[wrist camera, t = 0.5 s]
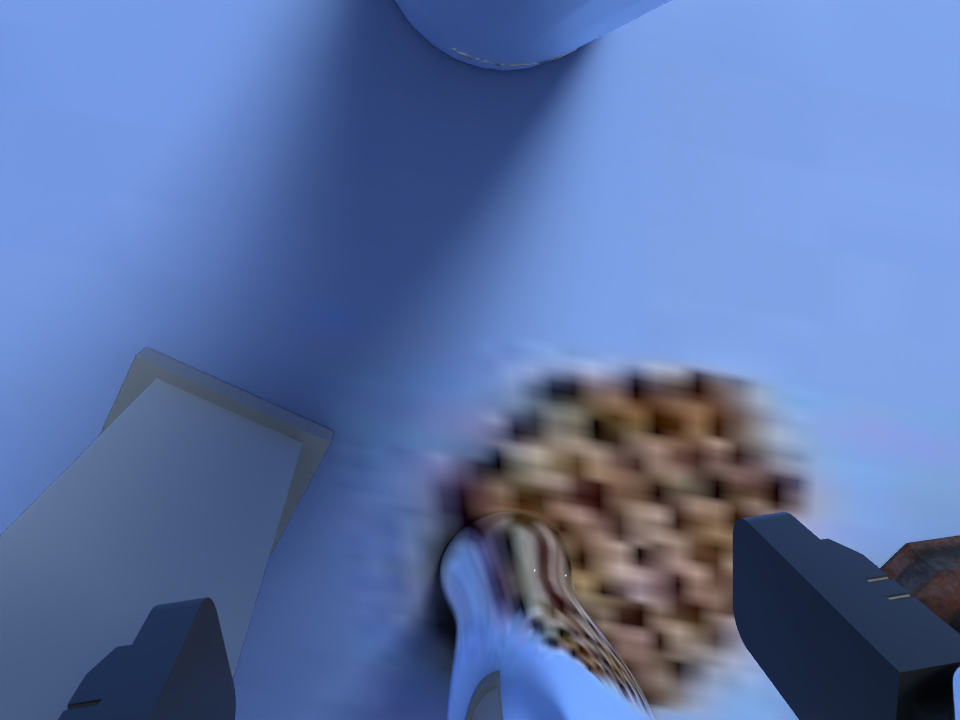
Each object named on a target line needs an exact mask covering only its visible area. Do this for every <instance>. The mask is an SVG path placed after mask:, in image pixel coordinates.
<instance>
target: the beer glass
mask: <svg viewBox="0 0 960 720" xmlns="http://www.w3.org/2000/svg"><path fill="white" fill-rule="evenodd" d="M439 577H440V585H441V590H442V594H443V596H444V599H445V602H446V604H447V606H448V609H449V611H450V613H451V615H452V618H453V621H454V625H455V647H454V657H453V665H452V672H451V680H450V689H449V698H448V708H447V720H657V719H656V717H655V715H654V713H653V711H652V709H651V707H650V705H649V703H648V701H647V699H646V697H645V695H644V693H643V691H642V689H641V687H640V686H639V684H638V682H637V681H636V679H635V678H634V676H633V675H632V673H631V672H630V670H629V668H628V667H627V665H626V664H625V662H624V661H623V659H622V658H621V656H620V655H619V653H618V652H617V651H616V649H615V648H614V647H613V645H612V644H611V642H610V641H609V640H608V638H607V637H606V636H605V634H604V633H603V632H602V630H601V629H600V628H599V626H598V625H597V624H596V622H595V621H594V620H593V619H592V617H591V616H590V615H589V613H588V612H587V610H586V609H585V607H584V606H583V605H582V603H581V602H580V600H579V598H578V596H577V594H576V591H575V588H574V584H573V575H572V567H571V560H570V555H569V552H568V549H567V546H566V544H565V542H564V540H563V539H562V537H561V536H560V534H559V533H558V532H557V531H556V530H555V529H554V528H553V527H552V526H551V525H550V524H548V523H547V522H545V521H544V520H542V519H540V518H538V517H536V516H533V515H530V514H526V513H522V512H499V513H494V514H490V515H487V516H484V517H481V518H479V519H477V520H475V521H473V522H471V523H470V524H468V525H467V526H465V527H464V528H463V529H461V530H460V531H459V532H458V533H457V534H456V535H455V536H454V538H453V539H452V540H451V541H450V543H449V544H448V546H447V548H446V550H445V552H444V554H443V557H442V561H441V565H440V573H439Z"/></svg>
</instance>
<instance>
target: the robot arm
mask: <svg viewBox="0 0 960 720" xmlns="http://www.w3.org/2000/svg"><path fill="white" fill-rule="evenodd" d="M394 1H395V2H396V4H397V5H398V6H399V8H400V9H401V11H402V12H403V14H404V15H405V17H406V18H407V20H408V21H409V22H410V24H411V25H412V26H413V27H414V28H415V29H416V30H417V31H418V32H419V33H420V34H421V35H422V36H424V37H425V38H426V39H427V40H428V41H429V42H430V43H431V44H432V45H434V46H435V47H437V48H438V49H440V50H442V51H443V52H445V53H446V54H448V55H450V56H451V57H453V58H454V59H457V60H460V61H463V62H466V63H468V64H471V65H474V66H477V67H480V68H488V69H497V70H505V71H506V70H515V69H523V68H532V67H534V66H537V65H540V64H543V63H546V62H549V61H553V60H556V59H558V58H560V57H563V56H565V55H567V54H569V53H571V52H573V51H575V50H577V48H578V47H580V46H583V45H585V44H587V43H589V42H591V41H593V40H595V39H597V38H599V37H600V36H602V35H604V34H606V33H608V32H610V31H612V30H614V29H616V28H618V27H620V26H622V25H624V24H626V23H628V22H630V21H632V20H634V19H636V18H637V17H639V16H641V15H643V14H645V13H647V12H649V11H651V10H653V9H655V8H657V7H659V6H661V5H663V4H665V3H667V2H669V1H671V0H394ZM733 611H734V617H735V621H736V625H737V628H738V631H739V634H740V636H741V639H742V641H743V643H744V645H745V646H746V648H747V649H748V651H749V652H750V653H751V655H752V656H753V658H754V659H755V660H756V662H757V663H758V664H759V666H760V667H761V668H762V670H763V671H764V672H765V674H766V675H767V677H768V678H769V679H770V681H771V682H772V683H773V685H774V686H775V687H776V689H777V690H778V691H779V693H780V694H781V696H782V697H783V698H784V700H785V701H786V702H787V704H788V705H789V706H790V708H791V709H792V710H793V712H794V713H795V715H796V716H797V717H798V719H799V720H960V634H959V633H958V632H957V631H955V630H954V629H953V628H952V627H950V626H949V625H948V624H947V623H946V622H944V621H943V620H942V619H941V618H939V617H938V616H937V615H936V614H935V613H933V612H932V611H931V610H930V609H929V608H927V607H926V606H925V605H924V604H922V603H921V602H920V601H919V600H918V599H916V598H915V597H912V598H911V597H910V595H909V592H908V591H907V590H905V589H904V588H903V587H902V586H900V585H899V584H898V583H897V582H896V581H894V580H893V579H891V580H889V578H888V575H887V574H886V573H885V572H883V571H882V570H881V569H880V568H878V567H877V566H876V565H875V564H874V563H872V562H871V561H870V560H869V559H867V558H866V557H865V556H864V555H863V554H861V553H858V552H856V551H854V550H852V549H850V548H848V547H845V546H843V545H841V544H839V543H837V542H834V541H832V540H830V539H822V540H820V539H819V538H818V537H817V536H815V535H814V534H813V533H812V532H811V531H810V530H808V529H807V528H806V527H805V526H804V525H803V524H802V523H800V522H799V521H798V520H797V519H796V518H795V517H793V516H792V515H791V514H789V513H787V512H781V513H775V514H768V515H761V516H755V517H748V518H741V519H738V520H737V521H736V523H735V525H734V529H733ZM67 706H68V708H67V710H65V711H63V712H62V714H61V716H60V717H59V719H58V720H235V709H236V702H235V689H234V683H233V679H232V674H231V670H230V666H229V661H228V657H227V653H226V648H225V644H224V639H223V635H222V631H221V626H220V622H219V618H218V613H217V610H216V607H215V604H214V602H213V601H212V599H211V598H209V597H206V598H199V599H193V600H186V601H179V602H173V603H166V604H159V605H156V606H154V607H153V608H152V610H151V611H150V613H149V615H148V617H147V618H146V620H145V622H144V624H143V625H142V627H141V629H140V631H139V633H138V634H137V636H136V638H135V640H134V642H133V643H132V645H125V646H119V647H116V648H115V649H114V650H113V651H112V652H110V653H109V654H108V655H107V656H106V657H105V658H104V659H103V660H101V661H100V662H99V663H98V664H97V665H96V666H95V667H94V668H93V669H91V670H90V671H89V672H88V673H87V674H86V675H85V677H84V678H83V680H82V682H81V683H80V685H79V686H78V688H77V690H76V691H75V693H74V695H73V696H72V698H71V699H70V701H69V703H68V704H67Z"/></svg>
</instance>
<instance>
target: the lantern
mask: <svg viewBox="0 0 960 720" xmlns="http://www.w3.org/2000/svg"><path fill="white" fill-rule="evenodd" d="M881 570H882V571H883V572H885V573H886V574H887V575H888V578H889V580H891V579H893V580H894V581H896V582H897V583H898V584H899V585H900V586H902V587H903V588H904V589H905V590H907V591H908V592H909V595H910V597H911V598H912V597H915V598H916V599H918V600H919V601H920V602H921V603H922V604H924V605H925V606H926V607H927V608H929V609H930V610H931V611H932V612H933V613H935V614H936V615H937V616H938V617H939V618H941V619H942V620H943V621H944V622H946V623H947V624H948V625H949V626H950V627H952V628H953V629H954V630H955V631H957V632H958V633H959V634H960V536H953V537H946V538H939V539H932V540H925V541H918V542H912V543H906V544H905V545H904V546H903V547H902V548H901V549H900V550H899V551H898V552H897V553H896V554H895V555H894V556H893V557H892V558H891V559H890V560H889V561H888V562H887V563H886V564H885V565H884V566H883V567H882V568H881Z"/></svg>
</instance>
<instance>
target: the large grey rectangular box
mask: <svg viewBox="0 0 960 720" xmlns="http://www.w3.org/2000/svg"><path fill="white" fill-rule="evenodd" d="M332 435H333V431H332V430H330V429H328V428H326V427H324V426H321V425H319V424H317V423H315V422H312V421H310V420H308V419H306V418H304V417H301V416H299V415H297V414H295V413H292V412H290V411H288V410H286V409H284V408H281V407H279V406H277V405H275V404H272V403H270V402H268V401H266V400H264V399H261V398H259V397H257V396H255V395H253V394H250V393H248V392H246V391H244V390H241V389H239V388H237V387H235V386H233V385H230V384H228V383H226V382H224V381H221V380H219V379H217V378H215V377H213V376H210V375H208V374H206V373H204V372H201V371H199V370H197V369H195V368H193V367H190V366H188V365H186V364H184V363H181V362H179V361H177V360H175V359H173V358H170V357H168V356H166V355H164V354H162V353H159V352H157V351H155V350H153V349H150V348H148V347H145V348H144V349H143V350H142V351H141V352H139V353H138V354H137V355H136V356H135V358H134V361H133V363H132V365H131V367H130V369H129V372H128V374H127V376H126V378H125V380H124V383H123V385H122V387H121V389H120V391H119V394H118V396H117V398H116V400H115V402H114V405H113V407H112V409H111V411H110V413H109V415H108V418H107V420H106V422H105V424H104V426H103V429H102V431H101V433H100V435H99V437H98V438H97V439H96V440H95V441H94V442H93V443H92V444H91V445H90V446H89V447H88V448H87V449H86V450H85V451H84V452H83V453H82V454H81V455H80V456H79V457H78V458H77V459H76V460H75V461H74V462H73V463H72V464H71V465H70V466H69V467H68V468H67V469H66V470H65V471H64V472H63V473H62V474H61V475H60V476H59V477H58V478H57V479H56V480H55V481H54V482H53V483H52V484H51V485H50V486H49V487H48V488H47V489H46V490H45V491H44V492H43V493H42V494H41V495H40V496H39V497H38V498H37V499H36V500H35V501H34V502H33V503H32V504H31V505H30V506H29V507H28V508H27V509H26V510H25V511H24V512H23V513H22V514H21V515H20V516H19V517H18V518H17V519H16V520H15V521H14V522H13V523H12V524H11V525H10V526H9V527H8V528H7V529H6V530H5V531H4V532H3V533H2V534H1V535H0V720H58V719H59V717H60V716H61V714H62V712H63V711H65V710H67V708H68V706H67V704H68V703H69V701H70V699H71V698H72V696H73V695H74V693H75V691H76V690H77V688H78V686H79V685H80V683H81V682H82V680H83V678H84V677H85V675H86V674H87V673H88V672H89V671H90V670H91V669H93V668H94V667H95V666H96V665H97V664H98V663H99V662H100V661H101V660H103V659H104V658H105V657H106V656H107V655H108V654H109V653H110V652H112V651H113V650H114V649H115V648H116V647H119V646H125V645H132V643H133V642H134V640H135V638H136V636H137V634H138V633H139V631H140V629H141V627H142V625H143V624H144V622H145V620H146V618H147V617H148V615H149V613H150V611H151V610H152V608H153V607H154V606H156V605H159V604H166V603H173V602H179V601H186V600H193V599H199V598H206V597H209V598H211V599H212V601H213V602H214V604H215V607H216V610H217V613H218V618H219V622H220V626H221V631H222V635H223V639H224V644H225V648H226V653H227V657H228V661H229V666H230V670H231V674H232V679H233V677H234V674H235V670H236V667H237V664H238V660H239V657H240V653H241V650H242V647H243V643H244V640H245V636H246V633H247V630H248V626H249V623H250V619H251V616H252V613H253V609H254V606H255V603H256V599H257V596H258V592H259V589H260V586H261V582H262V579H263V575H264V572H265V569H266V565H267V562H268V559H269V557H270V555H271V553H272V551H273V549H274V548H275V546H276V544H277V542H278V540H279V538H280V536H281V535H282V533H283V531H284V529H285V527H286V525H287V523H288V522H289V520H290V518H291V516H292V514H293V512H294V510H295V509H296V507H297V505H298V503H299V501H300V499H301V497H302V496H303V494H304V492H305V490H306V488H307V486H308V484H309V483H310V481H311V479H312V477H313V475H314V473H315V471H316V469H317V468H318V466H319V464H320V462H321V460H322V458H323V456H324V455H325V453H326V451H327V449H328V447H329V445H330V443H331V440H332Z"/></svg>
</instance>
